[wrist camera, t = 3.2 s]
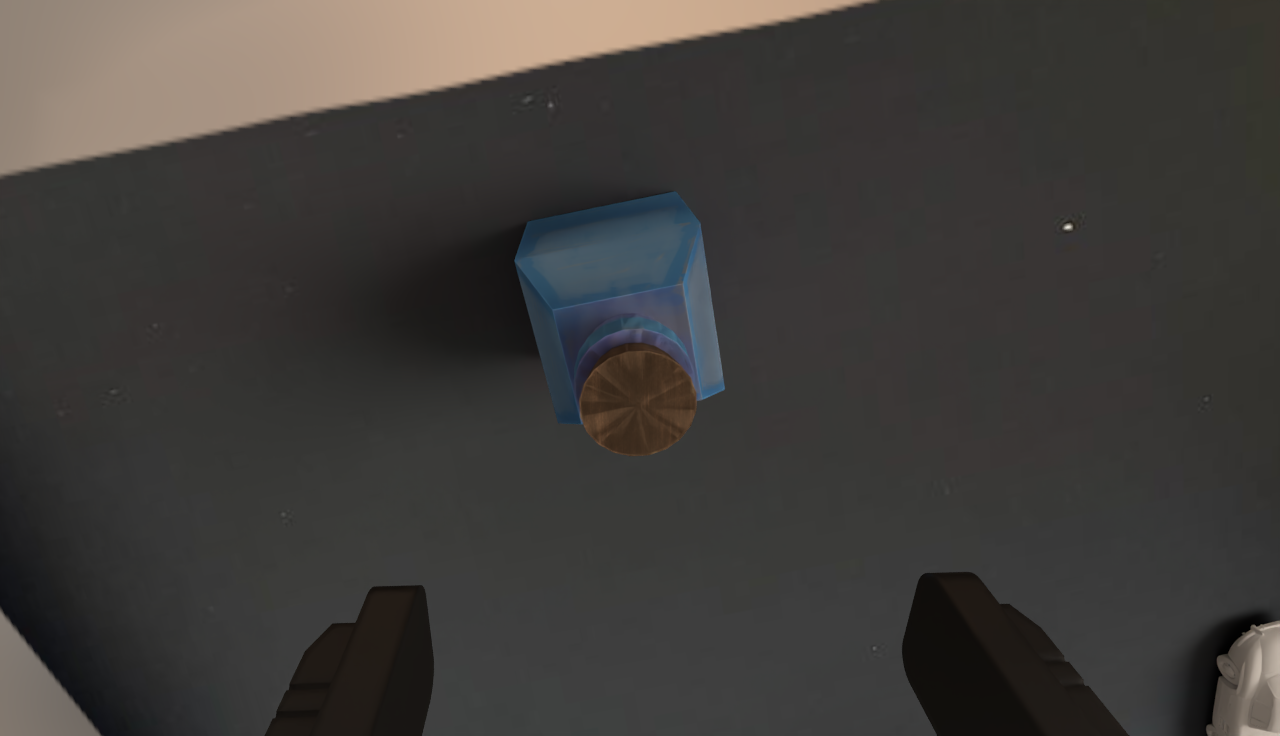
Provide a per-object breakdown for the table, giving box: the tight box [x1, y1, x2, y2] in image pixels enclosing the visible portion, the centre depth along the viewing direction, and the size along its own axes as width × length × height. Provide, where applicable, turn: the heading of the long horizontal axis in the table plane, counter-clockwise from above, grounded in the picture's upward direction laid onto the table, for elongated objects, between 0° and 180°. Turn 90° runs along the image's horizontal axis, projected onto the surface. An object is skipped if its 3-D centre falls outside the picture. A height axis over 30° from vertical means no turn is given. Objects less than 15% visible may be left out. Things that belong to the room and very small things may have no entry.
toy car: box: [1206, 620, 1280, 736], centre depth 41 cm, size 5×12×4 cm, turn 14°
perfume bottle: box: [514, 191, 725, 456], centre depth 23 cm, size 6×6×12 cm
